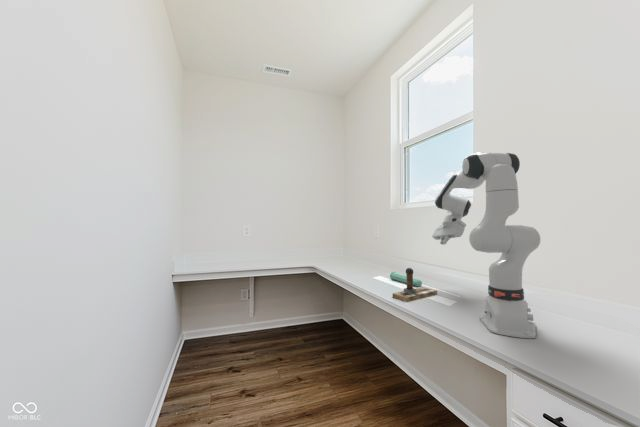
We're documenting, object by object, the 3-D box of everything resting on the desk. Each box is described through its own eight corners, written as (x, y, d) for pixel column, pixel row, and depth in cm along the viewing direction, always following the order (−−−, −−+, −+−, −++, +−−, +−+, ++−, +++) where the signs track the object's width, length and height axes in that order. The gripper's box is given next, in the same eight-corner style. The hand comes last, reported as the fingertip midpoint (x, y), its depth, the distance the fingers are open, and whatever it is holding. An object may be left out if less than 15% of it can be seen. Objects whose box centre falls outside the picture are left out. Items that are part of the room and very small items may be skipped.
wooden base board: (422, 290, 163) (422, 286, 163) (437, 294, 155) (437, 290, 155) (392, 297, 151) (392, 292, 151) (407, 301, 142) (407, 297, 142)
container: (422, 277, 172) (394, 270, 195) (415, 281, 170) (388, 274, 193) (425, 285, 173) (397, 277, 196) (418, 290, 171) (391, 281, 193)
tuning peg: (410, 290, 154) (409, 266, 154) (421, 293, 148) (420, 268, 148) (403, 292, 151) (403, 267, 152) (414, 295, 145) (413, 269, 145)
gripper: (434, 223, 172) (426, 242, 168) (460, 218, 153) (452, 239, 149) (442, 229, 173) (434, 248, 169) (468, 224, 154) (460, 245, 150)
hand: (442, 243), depth 159 cm, fingers closed
